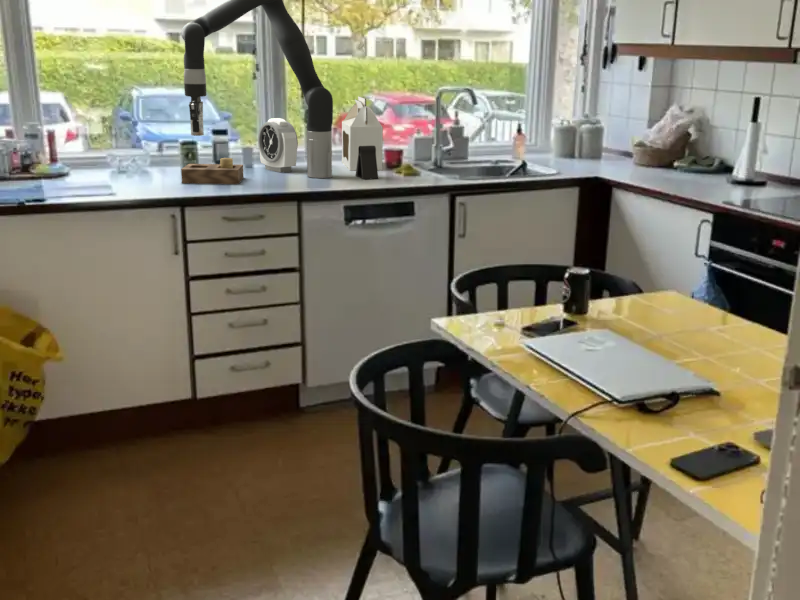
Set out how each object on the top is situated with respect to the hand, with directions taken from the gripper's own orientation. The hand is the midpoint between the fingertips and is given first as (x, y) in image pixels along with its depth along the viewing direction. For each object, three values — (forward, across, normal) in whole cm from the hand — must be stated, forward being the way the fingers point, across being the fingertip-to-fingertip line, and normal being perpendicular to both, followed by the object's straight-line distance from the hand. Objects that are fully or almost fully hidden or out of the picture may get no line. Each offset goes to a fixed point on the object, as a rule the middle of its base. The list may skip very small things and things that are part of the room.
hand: (197, 131), depth 307 cm
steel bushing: (+1, 0, 0) cm, 1 cm away
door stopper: (+18, +12, -61) cm, 65 cm away
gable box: (+18, +41, -59) cm, 74 cm away
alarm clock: (+18, +28, -26) cm, 42 cm away
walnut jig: (+18, 0, -5) cm, 18 cm away
